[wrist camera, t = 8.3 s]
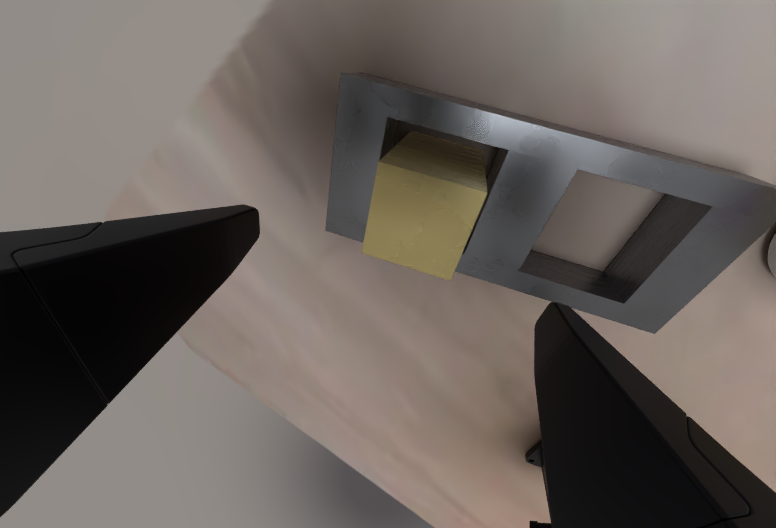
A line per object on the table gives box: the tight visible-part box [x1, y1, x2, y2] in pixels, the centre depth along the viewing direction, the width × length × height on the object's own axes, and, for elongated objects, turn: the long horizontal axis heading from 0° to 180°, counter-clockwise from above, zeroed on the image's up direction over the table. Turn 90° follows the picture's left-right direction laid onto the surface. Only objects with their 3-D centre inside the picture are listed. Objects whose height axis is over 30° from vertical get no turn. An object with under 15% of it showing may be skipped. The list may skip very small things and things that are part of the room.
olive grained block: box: [362, 131, 488, 281], centre depth 14 cm, size 4×4×7 cm
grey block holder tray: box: [325, 73, 776, 334], centre depth 16 cm, size 8×19×3 cm, turn 78°
